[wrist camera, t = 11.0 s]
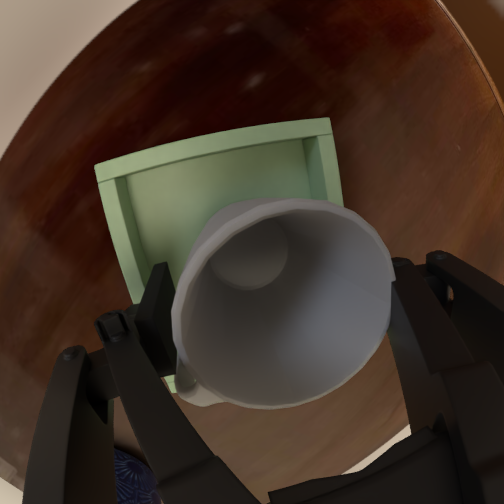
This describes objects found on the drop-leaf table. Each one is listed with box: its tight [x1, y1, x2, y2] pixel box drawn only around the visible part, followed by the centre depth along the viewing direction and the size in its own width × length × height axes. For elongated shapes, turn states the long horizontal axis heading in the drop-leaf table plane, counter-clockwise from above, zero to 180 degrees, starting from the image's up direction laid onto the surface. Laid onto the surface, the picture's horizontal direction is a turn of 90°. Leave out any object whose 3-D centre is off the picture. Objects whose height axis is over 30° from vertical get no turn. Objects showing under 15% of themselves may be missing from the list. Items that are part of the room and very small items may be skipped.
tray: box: [94, 118, 344, 393], centre depth 18 cm, size 15×13×3 cm
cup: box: [171, 198, 396, 409], centre depth 13 cm, size 8×10×8 cm
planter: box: [114, 448, 161, 504], centre depth 18 cm, size 12×12×11 cm
